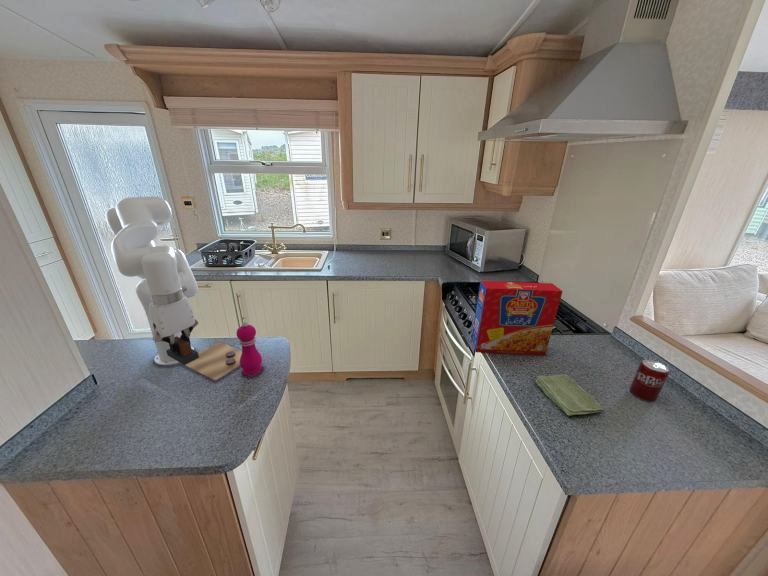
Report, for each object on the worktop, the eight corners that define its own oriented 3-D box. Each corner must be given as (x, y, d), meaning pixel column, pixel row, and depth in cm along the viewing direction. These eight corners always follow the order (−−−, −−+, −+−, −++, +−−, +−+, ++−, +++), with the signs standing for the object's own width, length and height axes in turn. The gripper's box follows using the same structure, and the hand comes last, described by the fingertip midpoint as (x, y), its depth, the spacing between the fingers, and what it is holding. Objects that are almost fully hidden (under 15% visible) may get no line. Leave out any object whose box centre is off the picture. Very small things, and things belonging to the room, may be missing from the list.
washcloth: (568, 420, 91) (570, 411, 90) (531, 381, 107) (533, 373, 106) (605, 414, 94) (608, 406, 92) (564, 377, 110) (566, 370, 109)
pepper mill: (255, 379, 104) (247, 328, 97) (237, 376, 106) (227, 325, 98) (267, 366, 111) (260, 318, 103) (249, 364, 112) (241, 315, 105)
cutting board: (179, 364, 111) (179, 362, 111) (219, 343, 124) (219, 341, 124) (215, 382, 102) (215, 380, 102) (254, 357, 116) (254, 356, 115)
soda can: (631, 384, 107) (643, 356, 103) (657, 395, 102) (671, 365, 98) (627, 394, 102) (639, 365, 98) (654, 406, 98) (669, 375, 93)
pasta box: (475, 352, 123) (486, 288, 113) (470, 341, 131) (480, 280, 120) (545, 355, 123) (562, 291, 112) (536, 344, 130) (552, 283, 120)
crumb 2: (224, 363, 111) (223, 361, 110) (231, 359, 113) (231, 357, 113) (229, 366, 109) (229, 364, 109) (237, 361, 112) (237, 359, 112)
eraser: (167, 355, 95) (163, 340, 93) (182, 348, 99) (178, 333, 97) (184, 365, 91) (180, 349, 89) (199, 357, 95) (195, 342, 93)
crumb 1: (224, 356, 115) (223, 354, 114) (231, 352, 117) (231, 350, 117) (229, 358, 113) (229, 356, 113) (237, 354, 116) (236, 352, 116)
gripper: (188, 284, 95) (199, 334, 102) (127, 303, 82) (146, 359, 89) (203, 289, 92) (213, 341, 99) (142, 310, 79) (160, 368, 86)
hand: (181, 349), depth 94 cm, fingers closed on eraser, 2 cm apart
